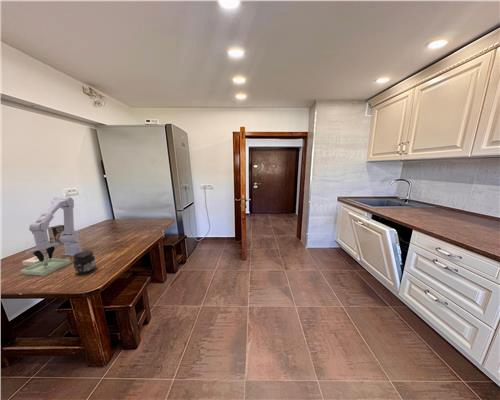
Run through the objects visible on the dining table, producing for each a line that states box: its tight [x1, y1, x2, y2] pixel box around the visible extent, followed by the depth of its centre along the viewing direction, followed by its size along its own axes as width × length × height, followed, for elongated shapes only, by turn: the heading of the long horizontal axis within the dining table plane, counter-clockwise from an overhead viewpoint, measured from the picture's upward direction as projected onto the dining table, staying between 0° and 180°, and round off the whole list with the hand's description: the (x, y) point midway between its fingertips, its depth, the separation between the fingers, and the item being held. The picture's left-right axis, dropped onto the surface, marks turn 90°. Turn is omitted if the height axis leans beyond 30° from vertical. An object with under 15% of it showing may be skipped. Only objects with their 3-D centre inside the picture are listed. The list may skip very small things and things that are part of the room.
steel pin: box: [41, 250, 49, 266], centre depth 121 cm, size 4×4×9 cm
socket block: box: [22, 254, 53, 267], centre depth 129 cm, size 10×10×3 cm
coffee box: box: [47, 224, 64, 246], centre depth 159 cm, size 9×6×16 cm
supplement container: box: [72, 250, 97, 276], centre depth 117 cm, size 10×10×12 cm
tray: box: [20, 258, 72, 277], centre depth 121 cm, size 16×16×2 cm
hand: (45, 259), depth 121 cm, fingers closed on steel pin, 4 cm apart
